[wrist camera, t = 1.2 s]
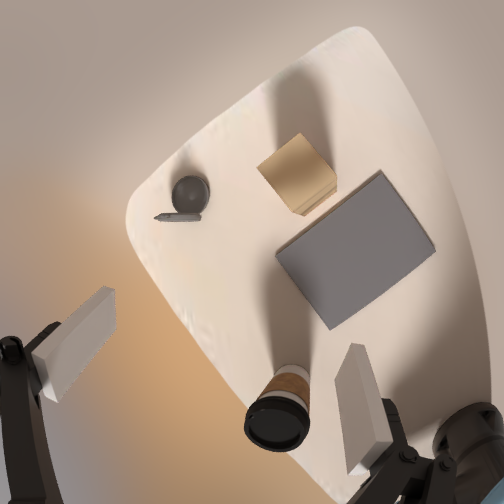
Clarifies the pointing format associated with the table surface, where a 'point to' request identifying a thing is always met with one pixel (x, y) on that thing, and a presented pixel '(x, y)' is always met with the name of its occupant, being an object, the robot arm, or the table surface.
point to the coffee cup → (281, 411)
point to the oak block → (299, 175)
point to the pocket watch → (187, 200)
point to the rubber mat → (356, 252)
